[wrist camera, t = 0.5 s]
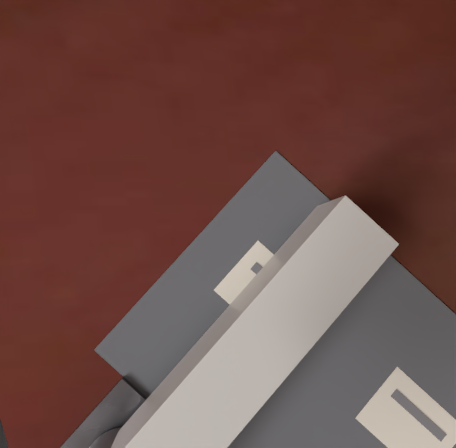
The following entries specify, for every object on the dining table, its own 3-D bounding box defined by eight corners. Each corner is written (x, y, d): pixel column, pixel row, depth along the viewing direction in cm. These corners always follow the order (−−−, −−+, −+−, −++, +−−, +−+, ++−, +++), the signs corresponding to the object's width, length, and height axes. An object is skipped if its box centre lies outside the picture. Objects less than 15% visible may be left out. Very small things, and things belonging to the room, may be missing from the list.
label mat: (544, 396, 22) (548, 398, 21) (383, 608, 20) (385, 613, 20) (275, 151, 22) (275, 150, 21) (95, 349, 20) (93, 350, 20)
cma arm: (364, 251, 21) (408, 252, 16) (126, 530, 19) (104, 614, 15) (307, 200, 21) (336, 187, 16) (64, 474, 19) (23, 542, 15)
